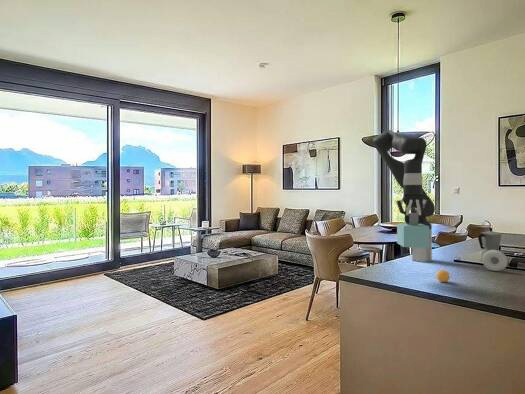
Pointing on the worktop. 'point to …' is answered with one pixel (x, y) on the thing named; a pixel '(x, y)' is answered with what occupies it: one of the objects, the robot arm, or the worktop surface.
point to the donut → (497, 254)
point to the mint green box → (413, 233)
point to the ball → (443, 276)
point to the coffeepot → (490, 243)
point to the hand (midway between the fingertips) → (412, 223)
